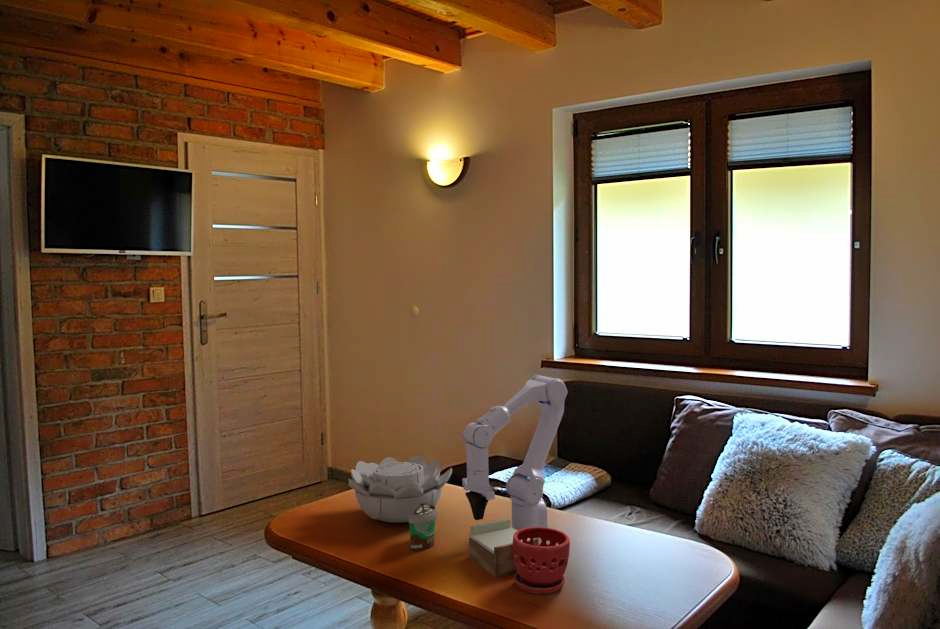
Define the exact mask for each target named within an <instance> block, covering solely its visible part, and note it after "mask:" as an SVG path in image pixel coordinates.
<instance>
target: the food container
mask: <svg viewBox="0 0 940 629" xmlns="http://www.w3.org/2000/svg"><path fill="white" fill-rule="evenodd" d="M438 516H439V512H438V508H437V505H436V506H435V505H434V504H433V503H430V502H425V501H421V502H420V506H419V507H418V508H417V509H416V510H415V512H414V513H413V515H409V522H408V524H409V541H410V551H411V552H420V551H427V550H429V549H431V548H433V547H434V545H435V539H436V538H435V537H436V536H435V535H436V518H438Z"/></svg>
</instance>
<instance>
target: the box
mask: <svg viewBox="0 0 940 629" xmlns="http://www.w3.org/2000/svg"><path fill="white" fill-rule="evenodd" d="M529 541H530V539H529V540H527V542H529ZM521 542H523V541H521ZM533 543H534V544H535V545H539V537H535V538H534V539H533ZM469 557H470V558H469ZM468 558H469V559H471V560H472V561H473V560H474V561H473V562H475V563H476V564H477V563H478V564H477V565H478V566H480V567H481V566H482V567H481V568H483V569H484V570H485V569H486V570H485V571H487V573H489V574H490V575H492V576H493V577H494V578H496V577H497V578H500V576H501V577H505V576H509V575H513V574H516V573H517V570H516V567H515V563H514V558H513V543H511V544H506V545H501V546H497V547H494V554H493V553H491V552H490V551H488V550H487V549H486V548H484V547H483V546H481V545H480V544H478V543H477V542H476V541H474V540H473V539H471V538H470V537H469V538H468ZM508 574H509V575H508ZM504 575H505V576H504Z"/></svg>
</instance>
